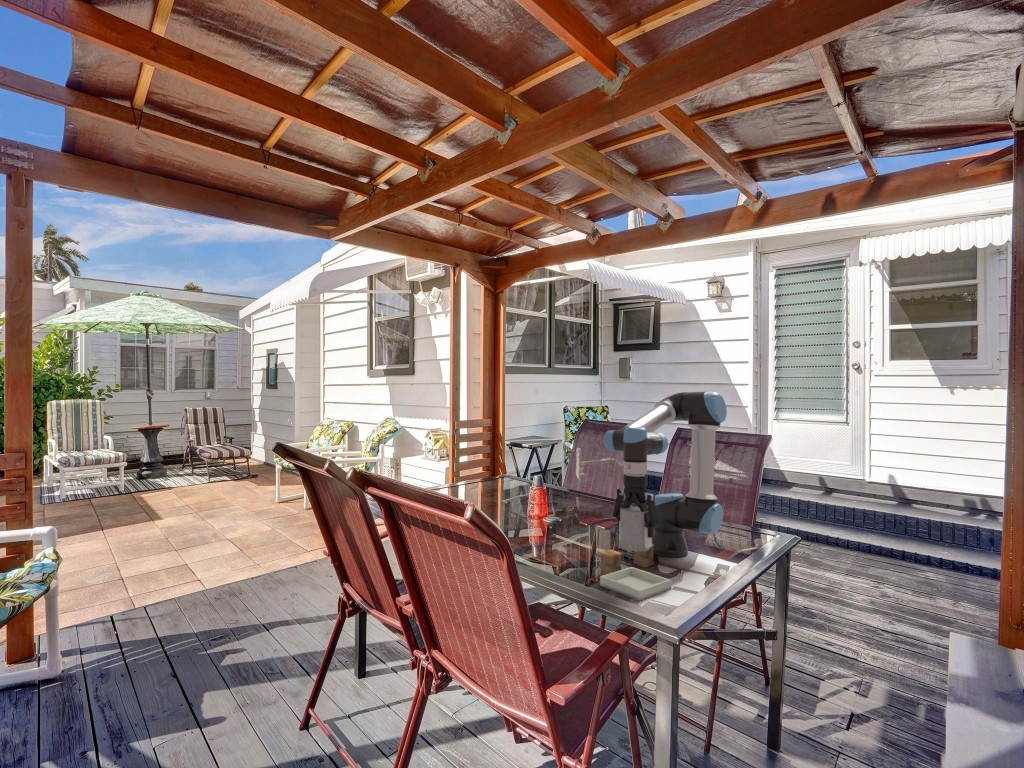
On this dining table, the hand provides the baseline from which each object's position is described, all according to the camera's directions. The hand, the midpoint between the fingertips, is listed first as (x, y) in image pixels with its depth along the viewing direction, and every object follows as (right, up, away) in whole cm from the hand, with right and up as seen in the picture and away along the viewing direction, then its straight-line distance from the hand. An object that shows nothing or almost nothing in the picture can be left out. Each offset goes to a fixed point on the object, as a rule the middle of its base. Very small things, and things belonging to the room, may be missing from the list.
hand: (635, 543), depth 163 cm
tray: (0, -14, 0) cm, 14 cm away
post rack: (+2, -15, +17) cm, 23 cm away
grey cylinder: (0, -1, 0) cm, 1 cm away
